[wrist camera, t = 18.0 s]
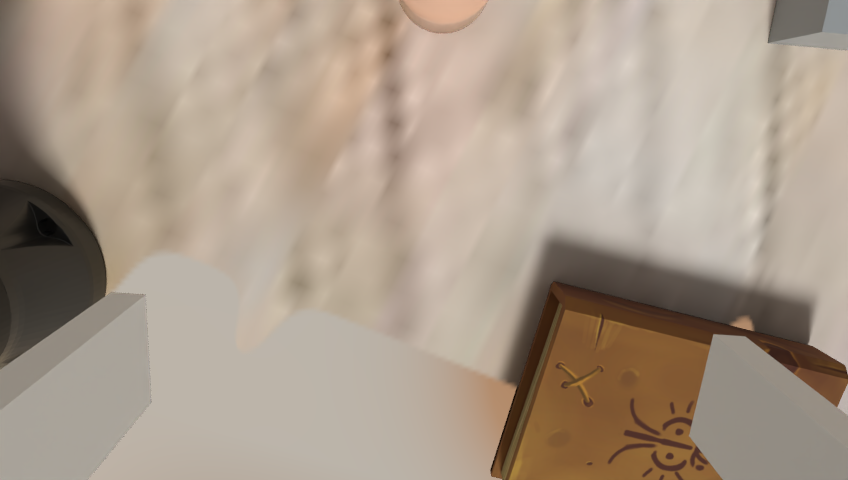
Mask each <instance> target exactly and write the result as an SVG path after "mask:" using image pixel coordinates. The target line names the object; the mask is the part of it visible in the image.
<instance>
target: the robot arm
mask: <svg viewBox="0 0 848 480" xmlns="http://www.w3.org/2000/svg"><path fill="white" fill-rule="evenodd" d="M105 291H106V273H105V266H104V262H103V258H102V255H101V252H100V249H99V247H98V245H97V243H96V240H95V239H94V237H93V235H92V233H91V232H90V230H89V229H88V227H87V226H86V225H85V223H84V222H83V221H82V220H81V219H80V217H79V216H78V215H77V214H76V213H75V212H74V211H73V210H72V209H71V208H69V207H68V206H67V205H66V204H65V203H63V202H62V201H61V200H59V199H58V198H56V197H55V196H53V195H51V194H49V193H48V192H46V191H44V190H42V189H39V188H37V187H34V186H31V185H28V184H25V183H21V182H16V181H10V180H0V480H88V479H89V478H90V477H91V476H92V474H93V473H94V472H95V471H96V470H97V468H98V467H99V466H100V465H101V463H102V462H103V461H104V460H105V459H106V457H107V456H108V455H109V454H110V453H111V451H112V450H113V449H114V448H115V446H116V445H117V444H118V443H119V441H120V440H121V439H122V438H123V437H124V435H125V434H126V433H127V432H128V430H129V429H130V428H131V427H132V425H133V424H134V423H135V422H136V421H137V419H138V418H139V417H140V416H141V415H142V413H143V412H144V411H145V410H146V408H147V407H148V406H149V405H150V404H151V383H150V365H149V346H148V328H147V309H146V295H143V294H129V293H115V292H111V293H109V294H108V295H107V296H105ZM689 437H690V438H691V439H692V441H693V442H694V443H695V444H696V446H697V447H698V448H699V450H700V451H701V452H702V453H703V455H704V456H705V457H706V459H707V460H708V461H709V463H710V464H711V465H712V466H713V468H714V469H715V470H716V472H717V473H718V474H719V475H720V477H721V478H722V479H723V480H848V416H847V415H846V414H845V413H844V412H842V411H841V410H840V409H838V408H837V407H836V406H835V405H833V404H832V403H831V402H829V401H828V400H827V399H826V398H824V397H823V396H822V395H820V394H819V393H818V392H816V391H815V390H814V389H813V388H811V387H810V386H809V385H807V384H806V383H805V382H804V381H802V380H801V379H800V378H798V377H797V376H796V375H794V374H793V373H792V372H791V371H789V370H788V369H787V368H785V367H784V366H783V365H782V364H780V363H779V362H778V361H776V360H775V359H774V358H773V357H771V356H770V355H769V354H767V353H766V352H765V351H763V350H762V349H761V348H760V347H758V346H757V345H756V344H754V343H753V342H752V341H751V340H749V339H748V338H747V337H745V336H732V335H718V334H713V338H712V342H711V346H710V351H709V355H708V359H707V363H706V367H705V371H704V376H703V380H702V384H701V388H700V392H699V396H698V401H697V405H696V409H695V413H694V417H693V421H692V426H691V430H690V434H689Z"/></svg>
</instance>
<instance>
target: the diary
mask: <svg viewBox="0 0 848 480" xmlns="http://www.w3.org/2000/svg"><path fill="white" fill-rule="evenodd" d="M713 334H718V335H732V336H745V337H747V338H748V339H749V340H751V341H752V342H753V343H754V344H756V345H757V346H758V347H760V348H761V349H762V350H763V351H765V352H766V353H767V354H769V355H770V356H771V357H773V358H774V359H775V360H776V361H778V362H779V363H780V364H782V365H783V366H784V367H785V368H787V369H788V370H789V371H791V372H792V373H793V374H794V375H796V376H797V377H798V378H800V379H801V380H802V381H804V382H805V383H806V384H807V385H809V386H810V387H811V388H813V389H814V390H815V391H816V392H818V393H819V394H820V395H822V396H823V397H824V398H826V399H827V400H828V401H829V402H831V403H832V404H833V405H835V406H836V407H837V406H838V404H839V402H840V399H841V397H842V395H843V393H844V391H845V388H846V386H847V384H848V374H847V370H846V367H845V365H843V364H842V363H840V362H838V361H837V360H835V359H833V358H832V357H830V356H828V355H827V354H825V353H823V352H821V351H820V350H818V349H816V348H815V347H813V346H810V345H806V344H802V343H798V342H794V341H790V340H786V339H782V338H778V337H774V336H770V335H766V334H762V333H758V332H754V331H750V330H746V329H742V328H738V327H734V326H730V325H726V324H722V323H718V322H714V321H710V320H706V319H702V318H698V317H694V316H690V315H686V314H682V313H678V312H674V311H670V310H666V309H662V308H658V307H654V306H650V305H646V304H642V303H638V302H634V301H630V300H626V299H622V298H618V297H614V296H610V295H606V294H602V293H598V292H594V291H590V290H586V289H582V288H578V287H574V286H570V285H566V284H562V283H558V282H553V283H552V284H551V287H550V290H549V293H548V296H547V300H546V303H545V306H544V309H543V312H542V315H541V318H540V321H539V324H538V328H537V331H536V334H535V337H534V340H533V343H532V346H531V349H530V353H529V356H528V359H527V362H526V365H525V368H524V371H523V374H522V377H521V381H520V384H519V387H518V388H516V391H515V394H514V397H513V401H512V404H511V407H510V410H509V413H508V416H507V419H506V422H505V425H504V429H503V432H502V435H501V438H500V441H499V445H498V447H497V450H496V454H495V457H494V460H493V463H492V466H491V469H490V472H491V476H492V477H496V478H501V479H502V480H723V479H722V478H721V477H720V475H719V474H718V473H717V472H716V470H715V469H714V468H713V466H712V465H711V464H710V463H709V461H708V460H707V459H706V457H705V456H704V455H703V453H702V452H701V451H700V450H699V448H698V447H697V446H696V444H695V443H694V442H693V441H692V439H691V438H690V437H689V434H690V430H691V426H692V421H693V417H694V413H695V409H696V405H697V401H698V396H699V392H700V388H701V384H702V380H703V376H704V371H705V367H706V363H707V359H708V355H709V351H710V346H711V342H712V338H713Z"/></svg>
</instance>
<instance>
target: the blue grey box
mask: <svg viewBox="0 0 848 480" xmlns="http://www.w3.org/2000/svg"><path fill="white" fill-rule="evenodd" d="M768 43H772V44H783V45H793V46H804V47H814V48H825V49H835V50H848V0H777V2H776V7H775V11H774V16H773V21H772V26H771V30H770V35H769V40H768Z"/></svg>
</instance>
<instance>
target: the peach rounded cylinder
mask: <svg viewBox="0 0 848 480" xmlns="http://www.w3.org/2000/svg"><path fill="white" fill-rule="evenodd" d="M399 2H400V5H401V7H402V9H403V11H404V12H405V14H406V15H407V16H408V17H409V19H410V20H411V21H412V22H414V23H415V24H416V25H417V26H419V27H421V28H422V29H425V30H427V31H430V32H434V33H452V32H456V31H459V30H461V29H463V28H465V27H467V26H468V25H470V24H471V23H472V22H473V21H474V20H475V19H476V18H477V17H478V16H479V15H480V13H481V12H482V10H483V9H484V7H485V5H486V4H487V2H488V0H399Z"/></svg>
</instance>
